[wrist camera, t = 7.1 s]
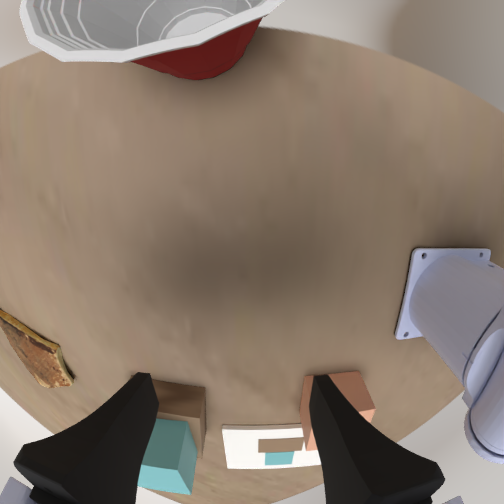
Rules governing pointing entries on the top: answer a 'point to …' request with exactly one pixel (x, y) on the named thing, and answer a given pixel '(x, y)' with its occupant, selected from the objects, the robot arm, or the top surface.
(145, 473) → the teal block
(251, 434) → the card
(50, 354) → the shard
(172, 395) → the walnut block
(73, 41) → the plastic cup
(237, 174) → the top surface
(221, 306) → the top surface
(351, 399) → the terracotta block
